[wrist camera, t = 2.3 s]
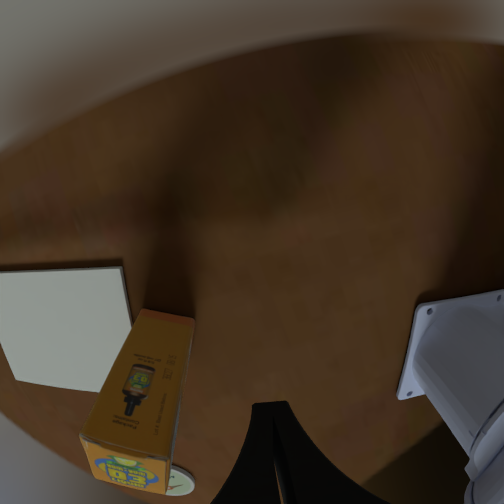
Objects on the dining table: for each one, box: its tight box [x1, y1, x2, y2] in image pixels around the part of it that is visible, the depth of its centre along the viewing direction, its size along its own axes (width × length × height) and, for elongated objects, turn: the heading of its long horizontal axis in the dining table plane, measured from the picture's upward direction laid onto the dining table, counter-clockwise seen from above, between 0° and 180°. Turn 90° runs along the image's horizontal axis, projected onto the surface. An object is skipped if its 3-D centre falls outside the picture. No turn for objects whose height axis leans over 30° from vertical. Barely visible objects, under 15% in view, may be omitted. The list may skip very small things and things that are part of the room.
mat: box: [0, 266, 133, 392], centre depth 18 cm, size 12×9×1 cm
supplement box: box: [79, 309, 195, 494], centre depth 13 cm, size 3×3×10 cm
